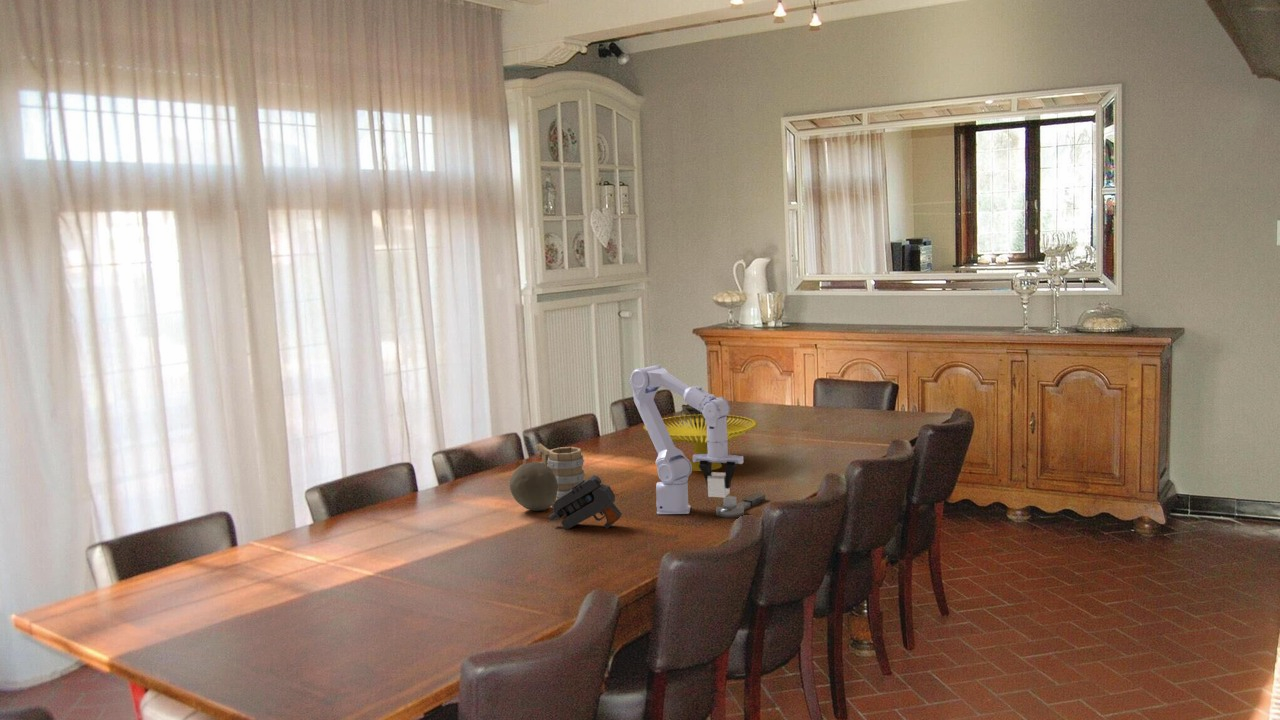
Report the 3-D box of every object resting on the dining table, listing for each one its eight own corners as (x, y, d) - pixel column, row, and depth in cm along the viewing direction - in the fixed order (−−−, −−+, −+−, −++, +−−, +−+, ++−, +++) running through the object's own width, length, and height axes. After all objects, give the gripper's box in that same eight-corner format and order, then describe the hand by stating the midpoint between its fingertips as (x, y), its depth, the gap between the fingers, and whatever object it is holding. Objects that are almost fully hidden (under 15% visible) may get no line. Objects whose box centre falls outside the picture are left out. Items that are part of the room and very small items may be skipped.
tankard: (594, 491, 334) (592, 445, 332) (566, 499, 325) (563, 453, 323) (553, 482, 348) (550, 439, 346) (524, 490, 339) (522, 446, 337)
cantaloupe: (539, 502, 323) (536, 455, 321) (568, 509, 313) (565, 461, 311) (502, 512, 313) (499, 464, 311) (531, 520, 303) (529, 470, 301)
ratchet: (735, 519, 295) (734, 502, 295) (711, 515, 300) (710, 499, 299) (772, 501, 313) (771, 485, 312) (749, 498, 318) (748, 482, 317)
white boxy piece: (708, 496, 295) (707, 476, 294) (713, 492, 299) (712, 471, 298) (725, 497, 293) (724, 476, 292) (729, 492, 297) (729, 472, 297)
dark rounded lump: (718, 435, 437) (697, 408, 442) (736, 416, 431) (715, 389, 436) (681, 446, 415) (659, 418, 420) (700, 426, 408) (677, 397, 413)
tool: (623, 520, 289) (595, 474, 289) (567, 552, 293) (539, 507, 293) (627, 514, 295) (600, 469, 294) (573, 545, 299) (545, 501, 299)
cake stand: (701, 486, 334) (699, 441, 332) (621, 468, 364) (619, 426, 362) (783, 464, 360) (782, 421, 358) (702, 449, 390) (700, 409, 388)
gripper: (688, 442, 293) (690, 489, 295) (738, 444, 288) (739, 491, 290) (696, 437, 300) (697, 483, 301) (744, 439, 294) (746, 485, 296)
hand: (718, 487), depth 296 cm, fingers closed on white boxy piece, 5 cm apart
